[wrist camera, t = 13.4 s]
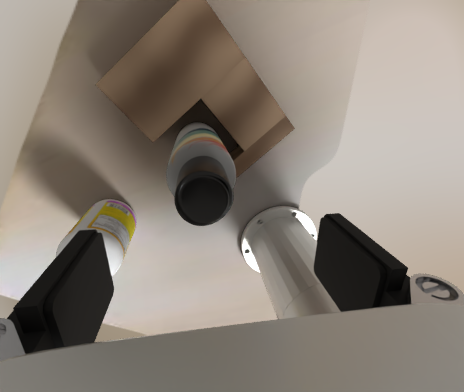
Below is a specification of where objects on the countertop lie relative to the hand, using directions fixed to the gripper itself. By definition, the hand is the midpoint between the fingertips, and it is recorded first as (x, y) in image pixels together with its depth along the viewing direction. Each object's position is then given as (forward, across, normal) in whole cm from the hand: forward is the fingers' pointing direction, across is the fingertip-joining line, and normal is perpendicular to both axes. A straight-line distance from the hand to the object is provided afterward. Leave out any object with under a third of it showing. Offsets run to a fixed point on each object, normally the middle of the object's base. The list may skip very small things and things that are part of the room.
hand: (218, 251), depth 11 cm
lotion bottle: (+26, 0, 0) cm, 26 cm away
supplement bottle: (+26, +13, +10) cm, 30 cm away
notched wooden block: (+25, 0, -5) cm, 26 cm away
